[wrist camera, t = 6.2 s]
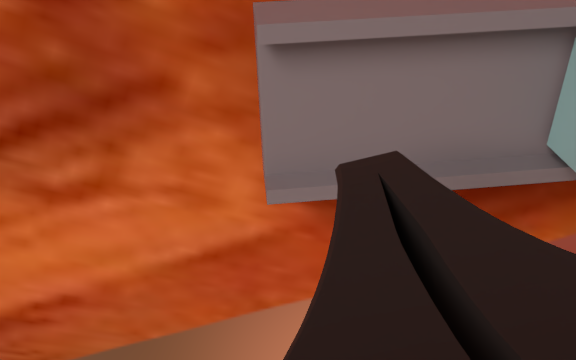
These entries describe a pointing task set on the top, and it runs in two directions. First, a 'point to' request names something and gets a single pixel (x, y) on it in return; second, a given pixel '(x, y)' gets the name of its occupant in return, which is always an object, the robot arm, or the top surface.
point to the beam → (410, 89)
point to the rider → (566, 117)
